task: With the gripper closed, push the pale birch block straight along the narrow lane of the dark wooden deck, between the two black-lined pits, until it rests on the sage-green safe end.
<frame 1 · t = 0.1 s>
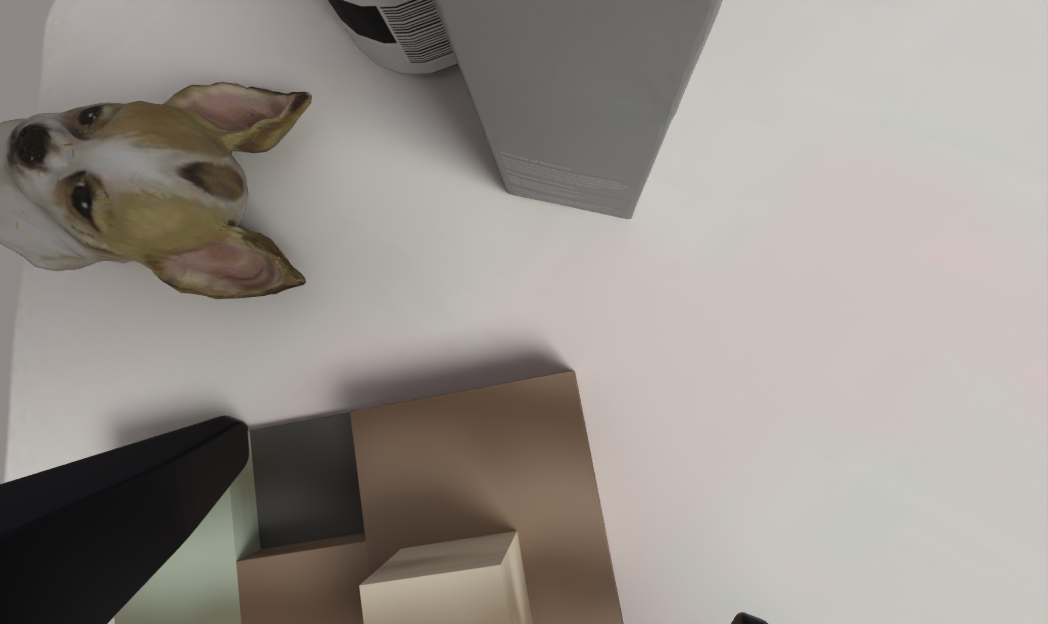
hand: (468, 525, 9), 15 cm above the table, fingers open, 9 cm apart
birch block: (468, 603, 21), point 2 cm above the table, touching trap deck
ceramic sculpture: (203, 212, 28), on the table
supplement can: (429, 12, 27), on the table
trap deck: (372, 599, 24), on the table
skincare box: (592, 138, 25), on the table
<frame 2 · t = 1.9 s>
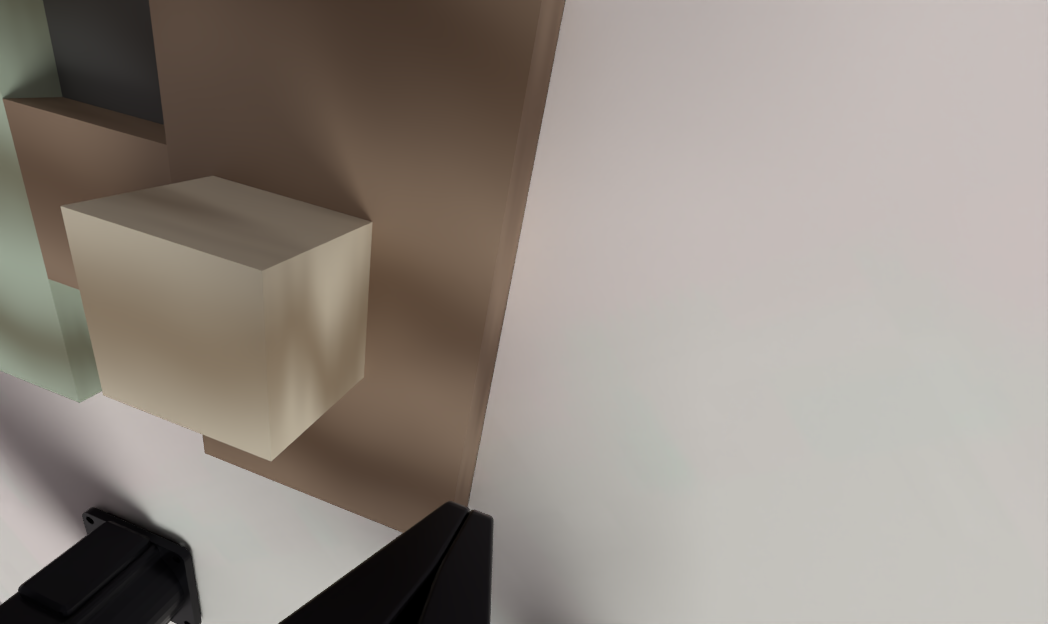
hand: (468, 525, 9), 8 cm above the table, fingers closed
birch block: (291, 281, 15), point 2 cm above the table, touching trap deck
trap deck: (205, 220, 18), on the table
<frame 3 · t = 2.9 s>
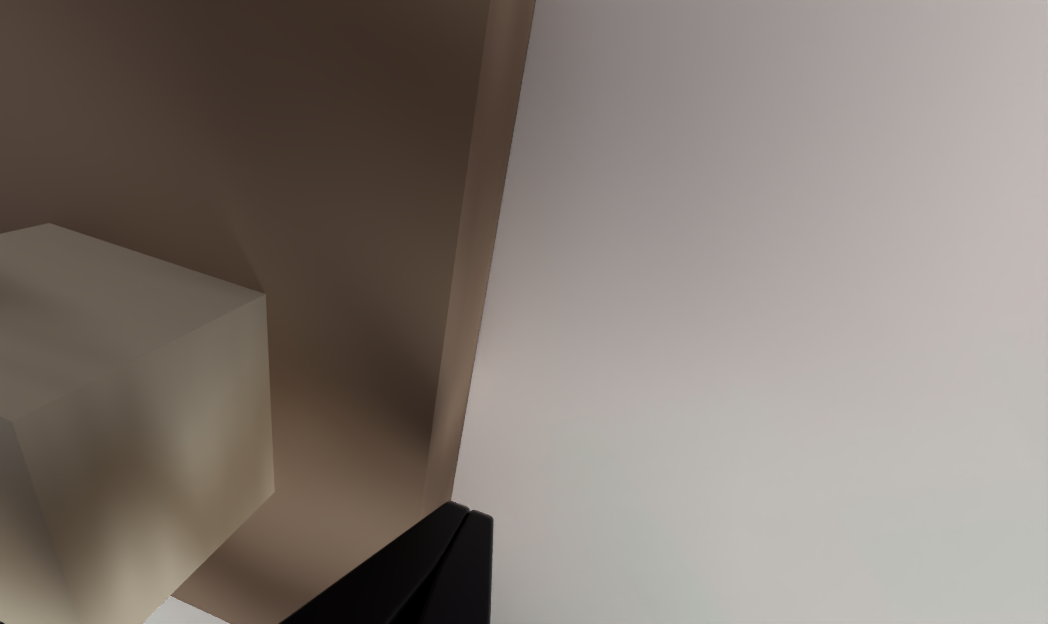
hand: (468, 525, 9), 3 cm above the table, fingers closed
birch block: (169, 365, 11), point 2 cm above the table, touching trap deck
trap deck: (79, 270, 14), on the table
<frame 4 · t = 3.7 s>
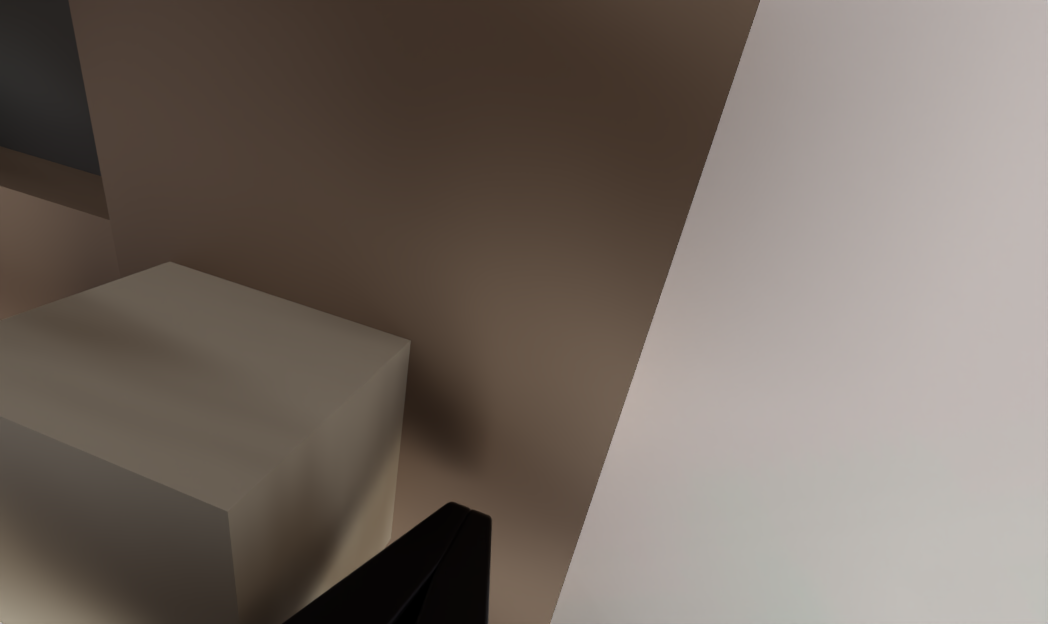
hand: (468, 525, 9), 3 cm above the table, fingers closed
birch block: (287, 409, 10), point 2 cm above the table, touching gripper
trap deck: (177, 305, 13), on the table
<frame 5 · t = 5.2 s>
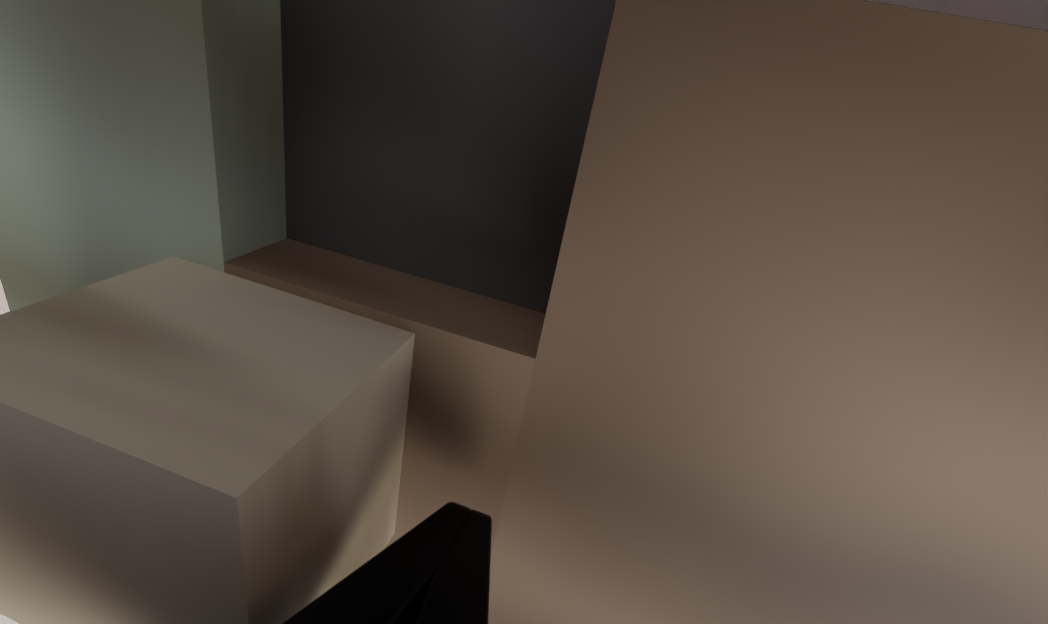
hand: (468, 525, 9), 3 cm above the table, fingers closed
birch block: (291, 403, 10), point 2 cm above the table, touching gripper, trap deck
trap deck: (490, 415, 12), on the table
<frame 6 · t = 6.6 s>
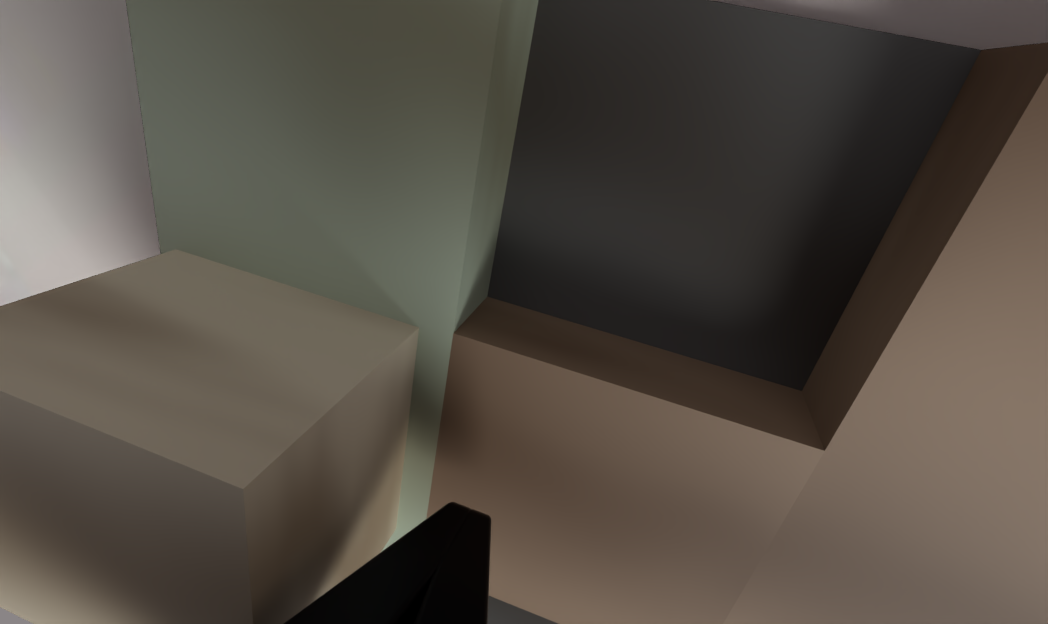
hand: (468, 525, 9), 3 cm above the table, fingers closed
birch block: (293, 398, 10), point 2 cm above the table, touching gripper, trap deck
trap deck: (690, 483, 11), on the table
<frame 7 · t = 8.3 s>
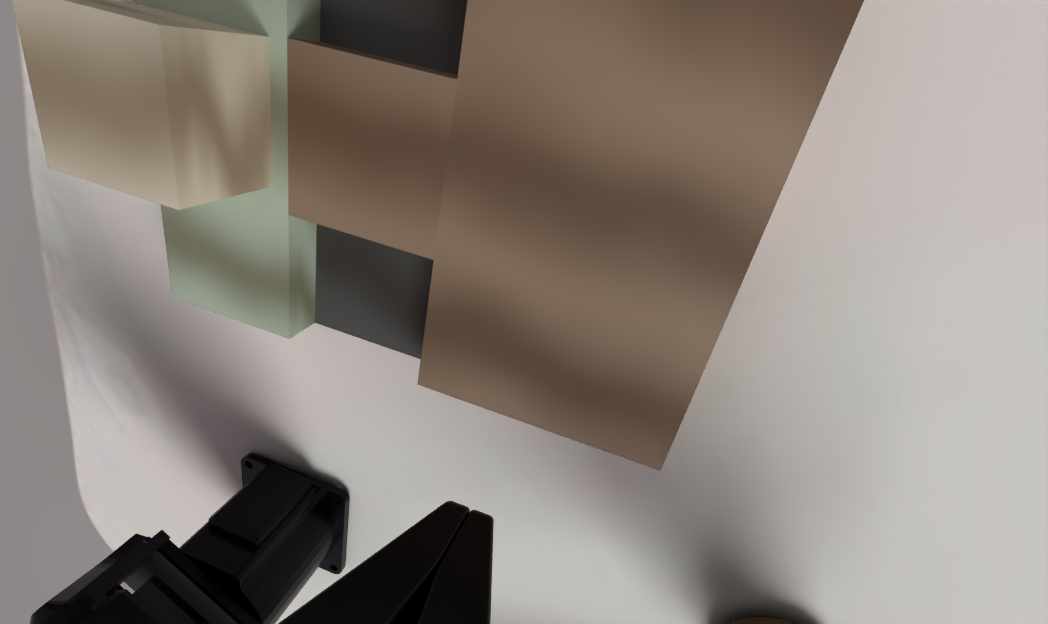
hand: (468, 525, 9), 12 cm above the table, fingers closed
birch block: (210, 99, 18), point 2 cm above the table, touching trap deck
trap deck: (442, 161, 19), on the table
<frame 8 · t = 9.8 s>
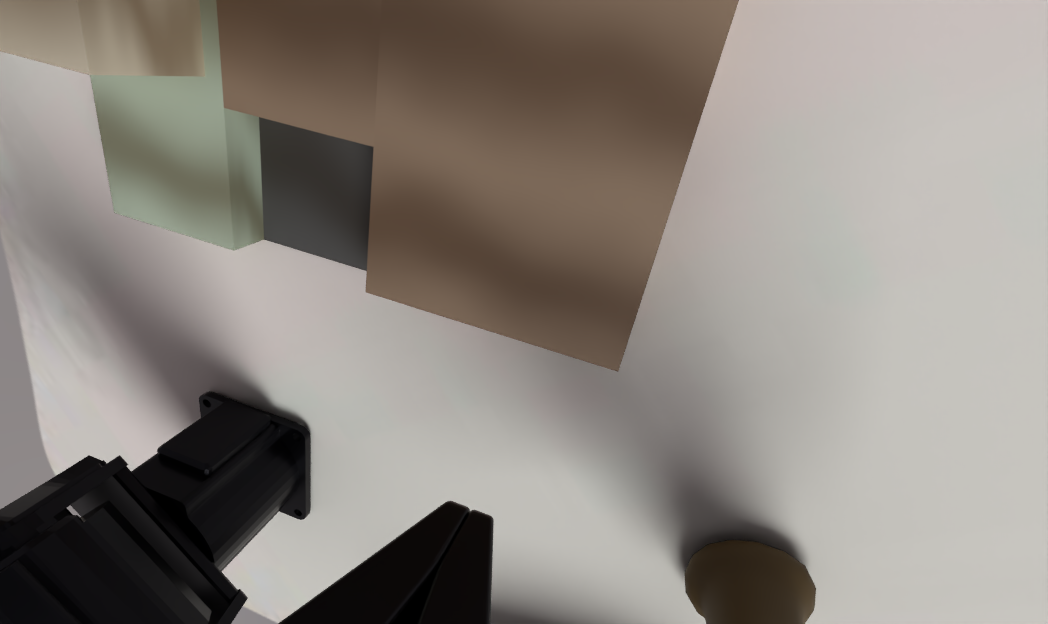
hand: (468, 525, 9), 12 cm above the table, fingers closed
kendama: (745, 570, 23), on the table
trap deck: (383, 46, 18), on the table
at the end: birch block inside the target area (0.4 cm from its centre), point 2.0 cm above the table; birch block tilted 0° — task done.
